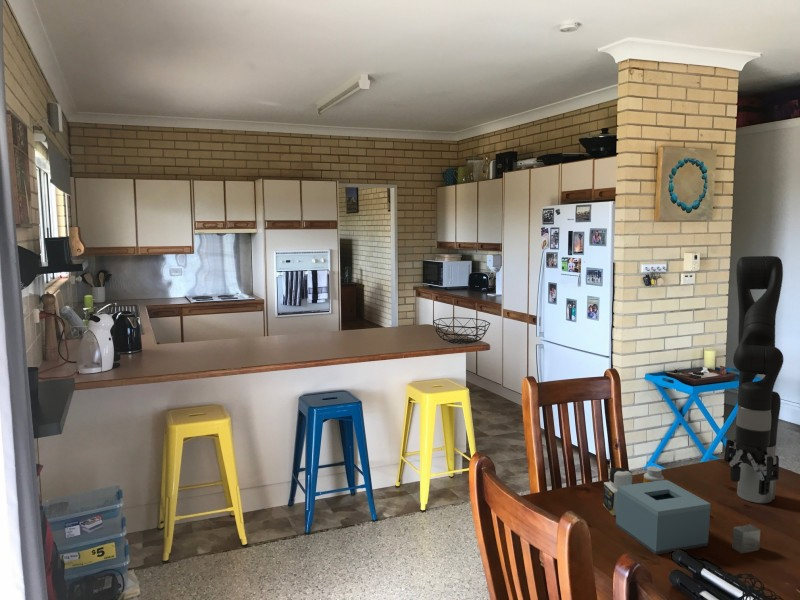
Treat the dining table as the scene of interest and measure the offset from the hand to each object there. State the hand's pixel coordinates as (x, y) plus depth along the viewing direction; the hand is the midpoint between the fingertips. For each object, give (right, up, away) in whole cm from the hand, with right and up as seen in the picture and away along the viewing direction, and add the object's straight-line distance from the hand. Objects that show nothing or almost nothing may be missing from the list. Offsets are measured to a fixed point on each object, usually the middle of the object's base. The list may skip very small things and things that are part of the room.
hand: (748, 487), depth 158 cm
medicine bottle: (-24, -14, +23) cm, 36 cm away
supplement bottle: (-13, -13, +29) cm, 34 cm away
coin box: (-19, -15, +8) cm, 25 cm away
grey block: (0, -16, +2) cm, 16 cm away
